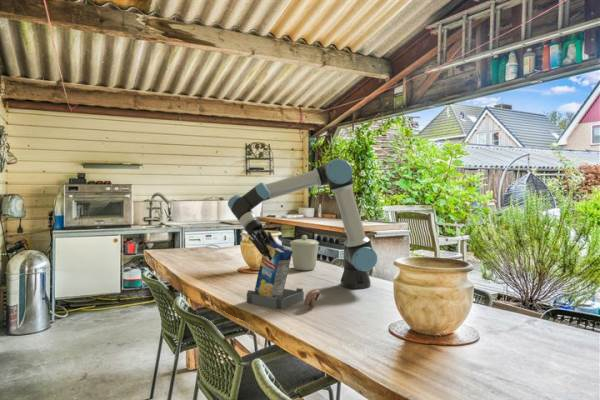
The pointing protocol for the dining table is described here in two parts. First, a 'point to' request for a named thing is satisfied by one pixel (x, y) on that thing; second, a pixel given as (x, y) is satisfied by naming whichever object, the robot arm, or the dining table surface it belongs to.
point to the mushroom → (311, 298)
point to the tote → (280, 302)
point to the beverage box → (273, 271)
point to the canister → (304, 253)
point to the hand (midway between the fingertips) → (280, 264)
